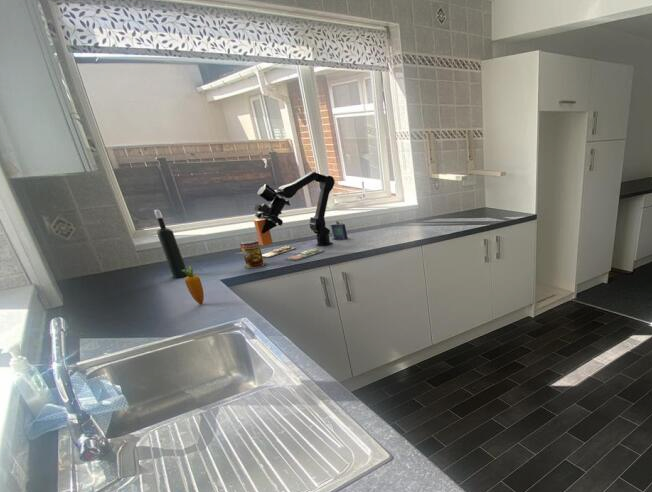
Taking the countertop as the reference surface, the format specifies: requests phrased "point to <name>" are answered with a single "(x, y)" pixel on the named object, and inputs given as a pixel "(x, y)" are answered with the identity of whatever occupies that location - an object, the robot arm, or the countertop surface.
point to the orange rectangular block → (263, 237)
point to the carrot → (194, 286)
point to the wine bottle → (170, 248)
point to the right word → (305, 254)
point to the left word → (278, 251)
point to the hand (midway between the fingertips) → (260, 232)
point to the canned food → (252, 253)
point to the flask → (338, 231)
